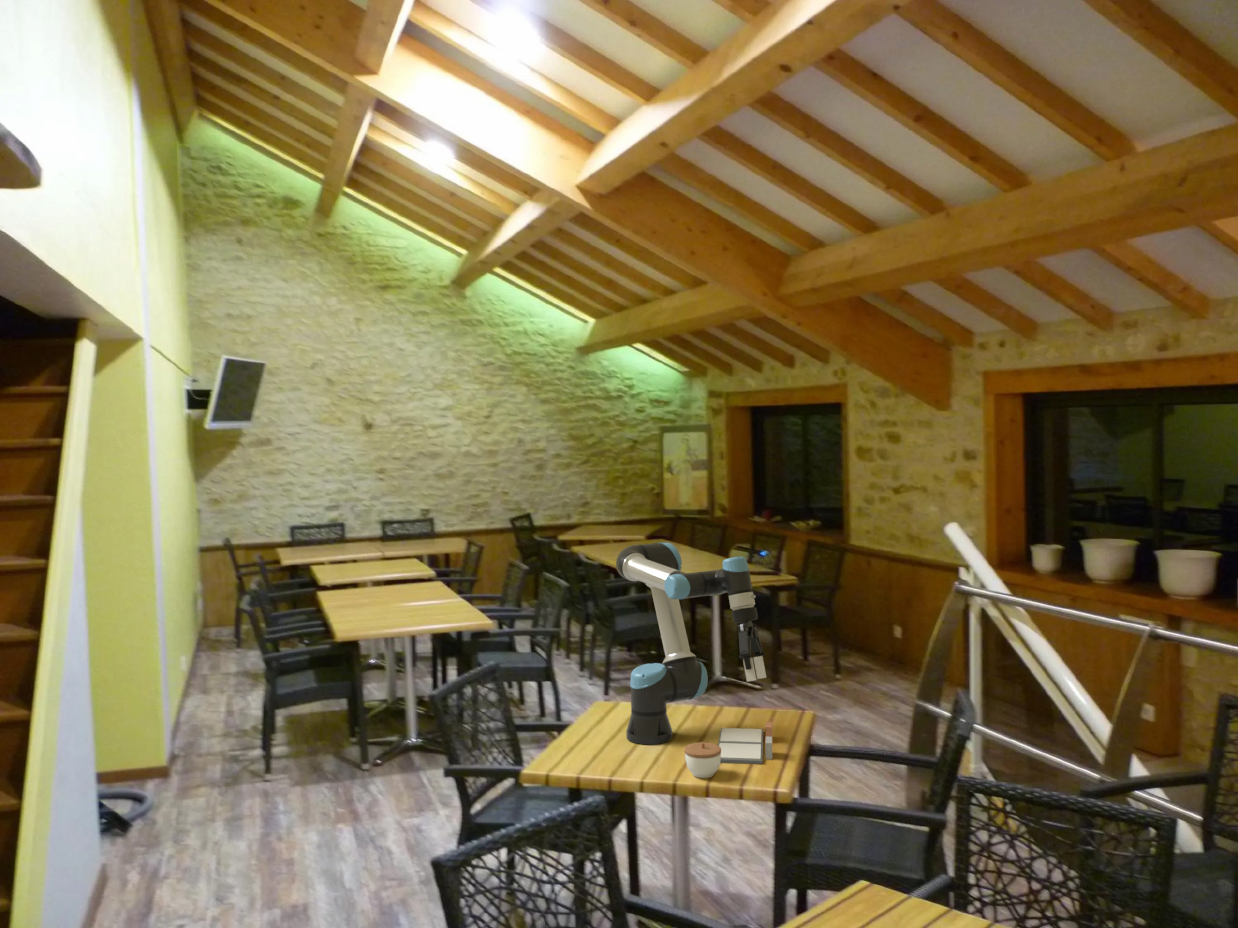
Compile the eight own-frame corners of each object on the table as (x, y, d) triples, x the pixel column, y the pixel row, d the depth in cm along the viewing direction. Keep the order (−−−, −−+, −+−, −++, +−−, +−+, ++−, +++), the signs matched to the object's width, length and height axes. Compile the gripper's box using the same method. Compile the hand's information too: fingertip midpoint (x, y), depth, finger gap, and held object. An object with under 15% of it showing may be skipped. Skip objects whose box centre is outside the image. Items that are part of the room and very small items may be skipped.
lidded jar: (680, 778, 277) (679, 746, 277) (691, 765, 287) (691, 735, 286) (715, 782, 273) (714, 750, 272) (726, 770, 283) (725, 738, 282)
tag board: (715, 762, 289) (715, 746, 289) (721, 730, 319) (720, 715, 319) (772, 764, 286) (772, 747, 286) (772, 732, 316) (772, 717, 316)
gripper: (745, 605, 274) (759, 679, 269) (764, 606, 297) (777, 675, 292) (720, 610, 276) (734, 683, 272) (741, 610, 299) (754, 678, 295)
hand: (757, 679), depth 282 cm, fingers open, 13 cm apart
